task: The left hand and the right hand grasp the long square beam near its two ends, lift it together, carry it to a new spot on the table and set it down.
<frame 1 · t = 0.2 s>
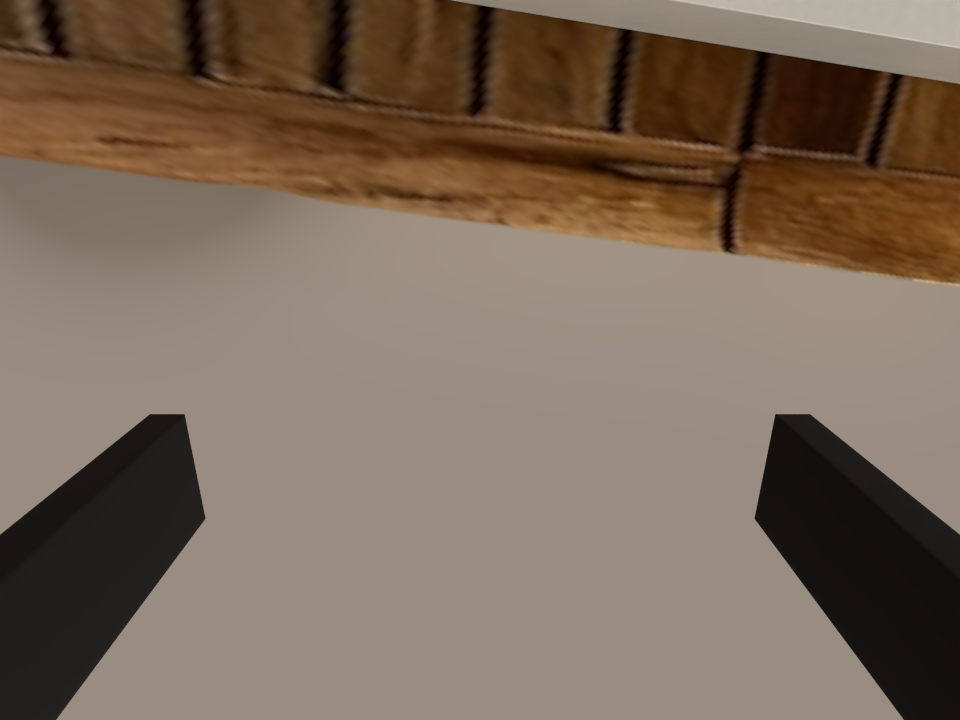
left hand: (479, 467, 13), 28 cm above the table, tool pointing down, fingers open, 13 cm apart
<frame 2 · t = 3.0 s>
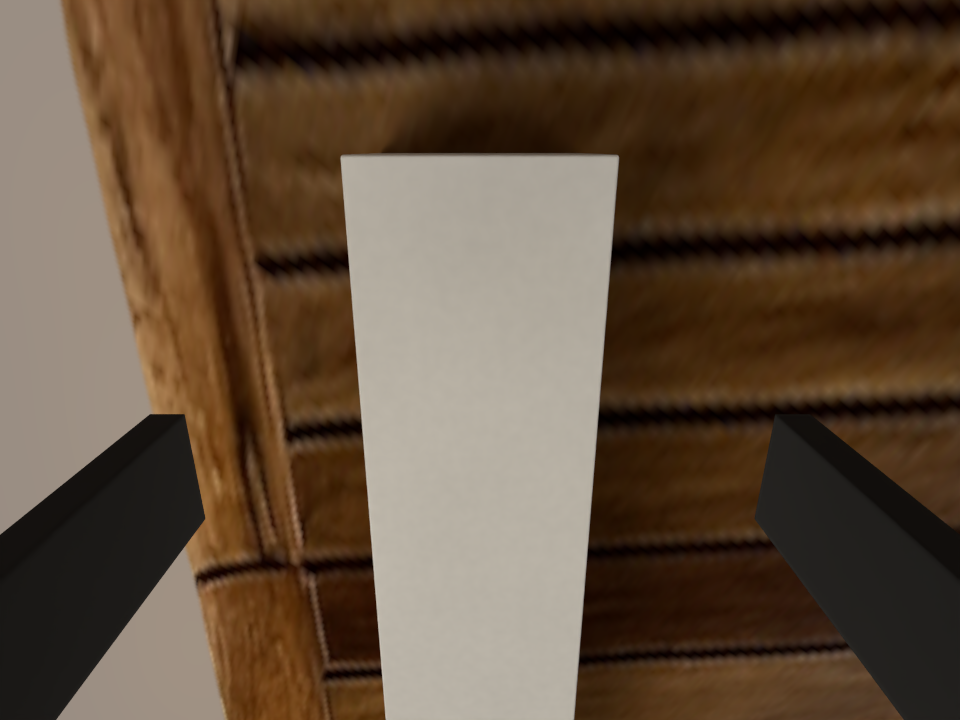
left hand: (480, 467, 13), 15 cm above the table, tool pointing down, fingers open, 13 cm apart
long square beam: (479, 696, 36), on the table, touching right hand
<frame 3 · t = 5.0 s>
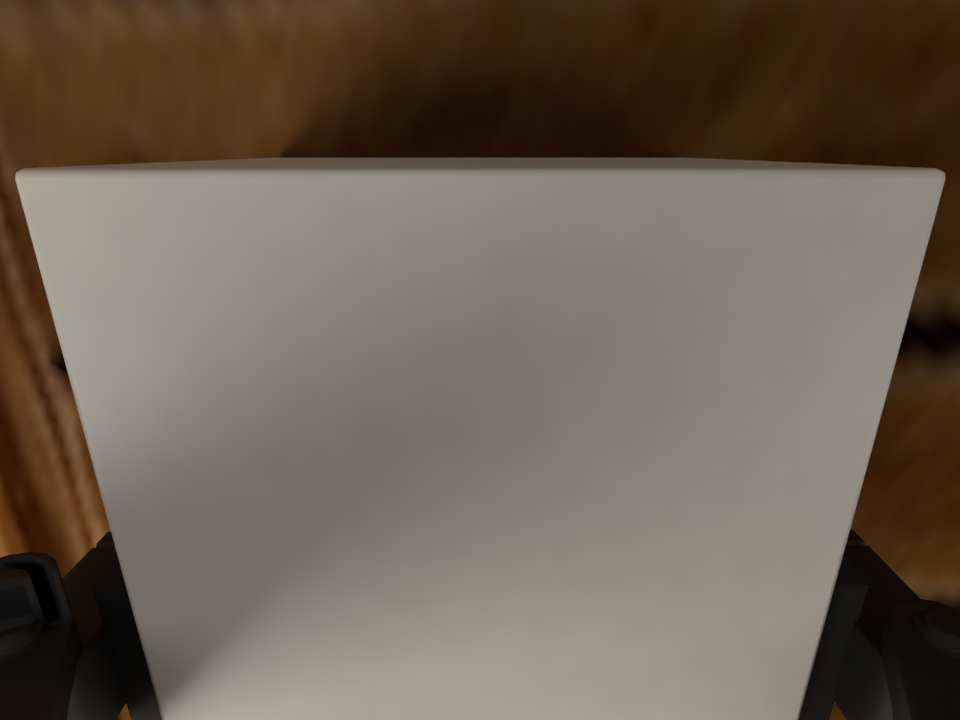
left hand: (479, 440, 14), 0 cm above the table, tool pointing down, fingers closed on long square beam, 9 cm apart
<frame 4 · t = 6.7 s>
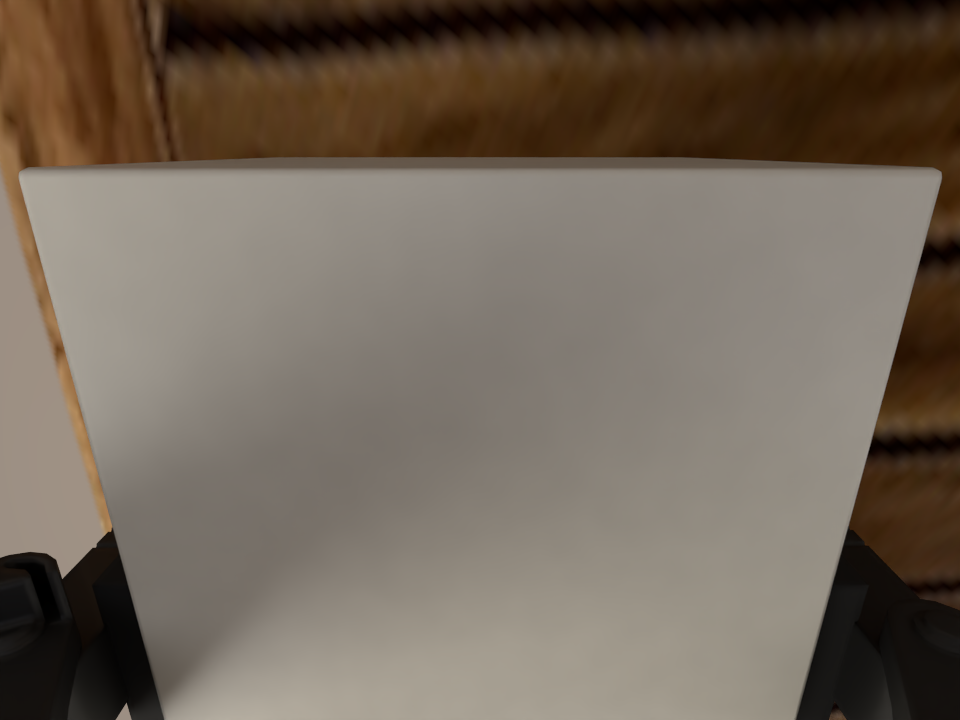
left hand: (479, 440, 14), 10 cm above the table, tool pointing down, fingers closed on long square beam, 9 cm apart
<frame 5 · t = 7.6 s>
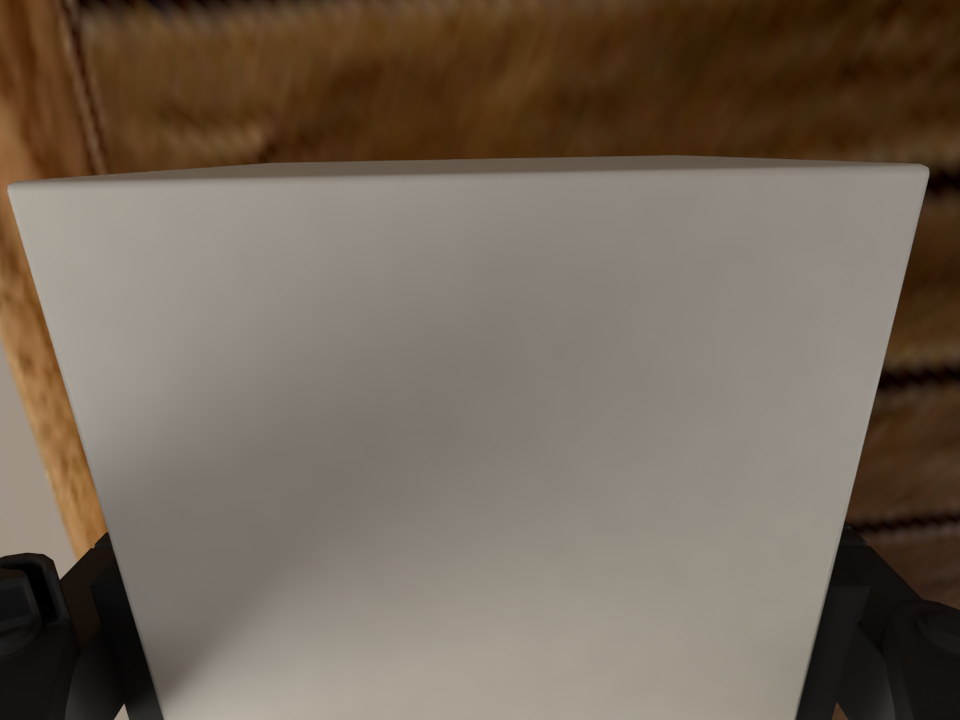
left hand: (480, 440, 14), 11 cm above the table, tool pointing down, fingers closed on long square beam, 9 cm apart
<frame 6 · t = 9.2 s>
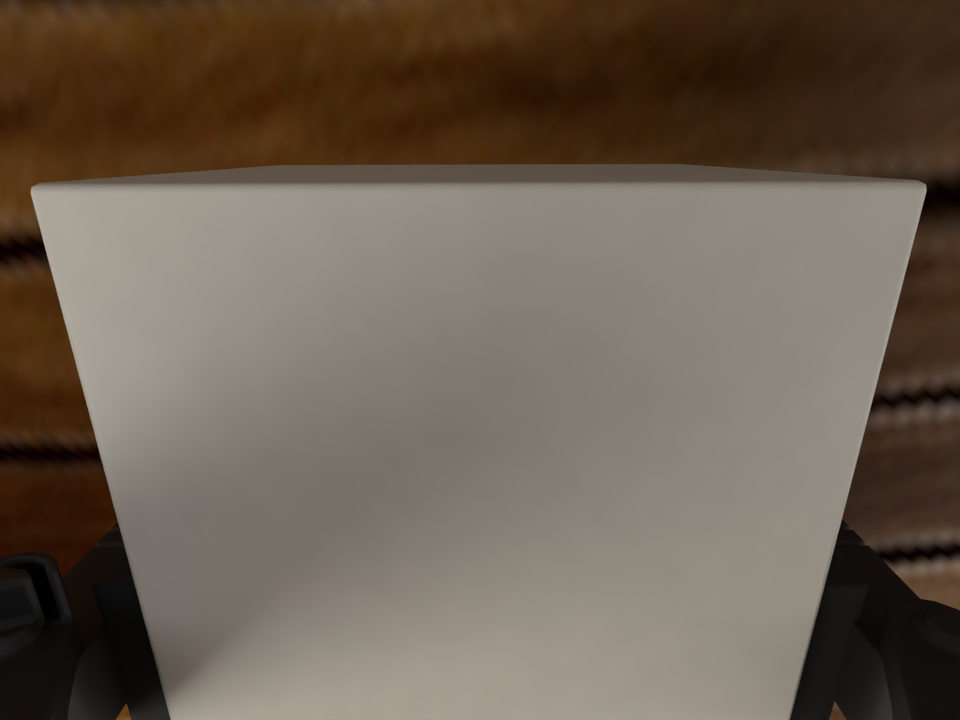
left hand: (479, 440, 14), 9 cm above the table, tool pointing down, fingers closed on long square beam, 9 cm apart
when the left hand's fingers open (1 cm above the table, at t = 10.4 s): long square beam stays where it is, on the table.
when the right hand's fingers open (1 cm above the table, at t = 10.4 s): long square beam stays where it is, on the table.
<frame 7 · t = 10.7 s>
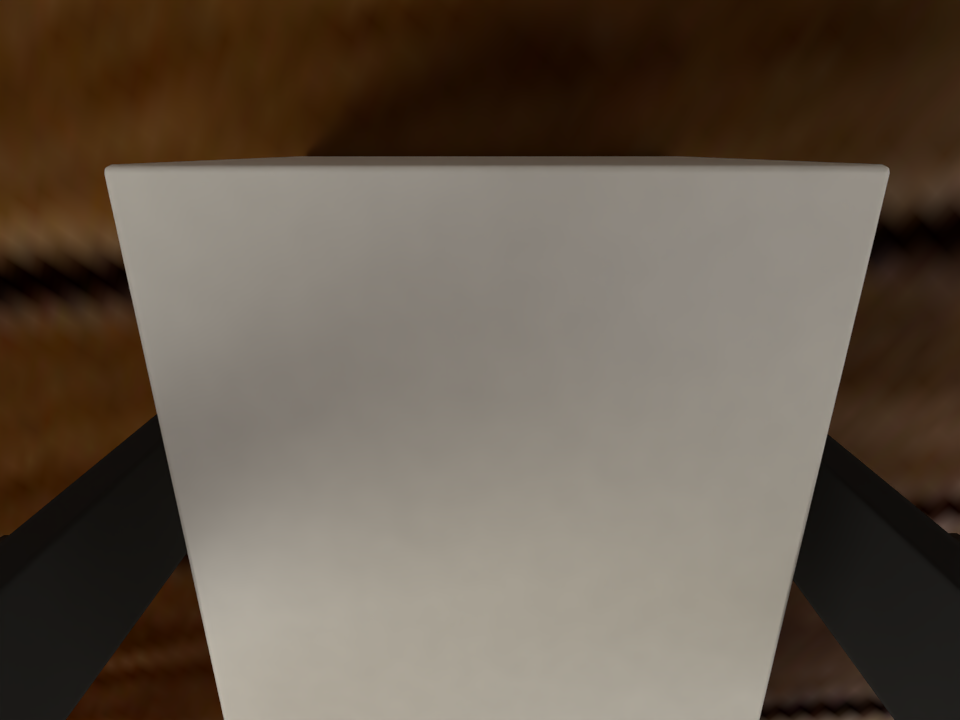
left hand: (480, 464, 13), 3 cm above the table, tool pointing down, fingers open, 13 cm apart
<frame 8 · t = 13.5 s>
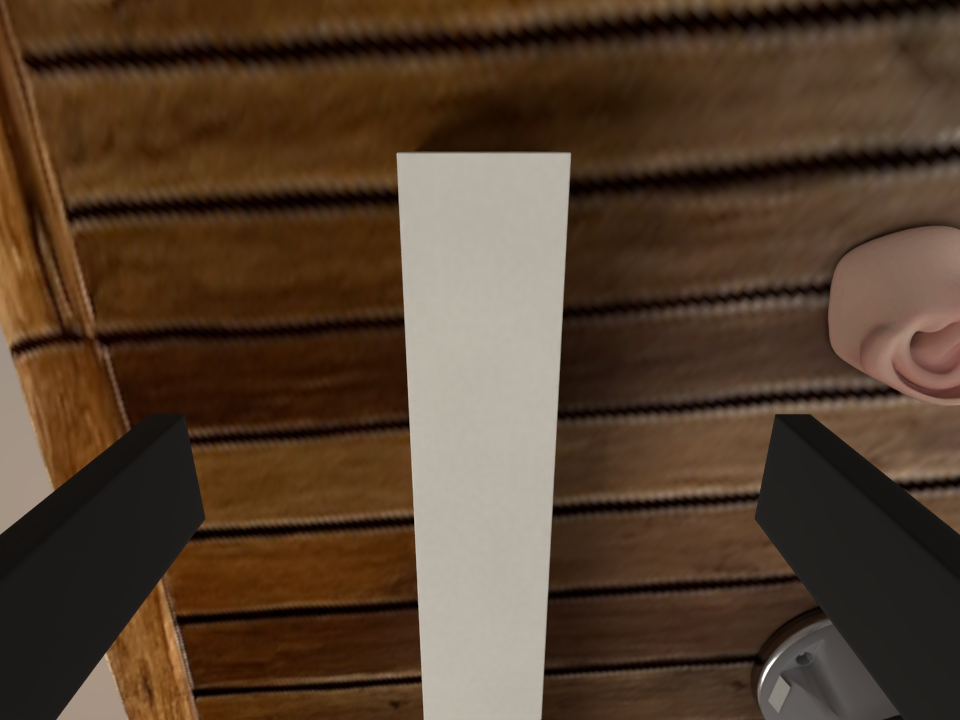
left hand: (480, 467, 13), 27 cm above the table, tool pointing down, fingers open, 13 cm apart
long square beam: (482, 570, 47), on the table
anatomical model: (913, 312, 39), on the table
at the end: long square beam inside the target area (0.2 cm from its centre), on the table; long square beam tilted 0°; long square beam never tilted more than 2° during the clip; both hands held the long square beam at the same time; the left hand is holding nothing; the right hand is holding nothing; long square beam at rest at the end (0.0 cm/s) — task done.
